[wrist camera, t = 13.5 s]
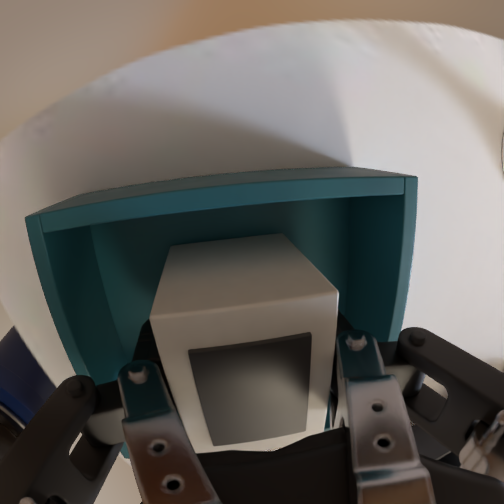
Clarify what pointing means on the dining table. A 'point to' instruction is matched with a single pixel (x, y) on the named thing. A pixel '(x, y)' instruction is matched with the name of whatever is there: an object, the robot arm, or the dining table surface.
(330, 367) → the white box with panel
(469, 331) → the dining table surface
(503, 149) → the champagne flute
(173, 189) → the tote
